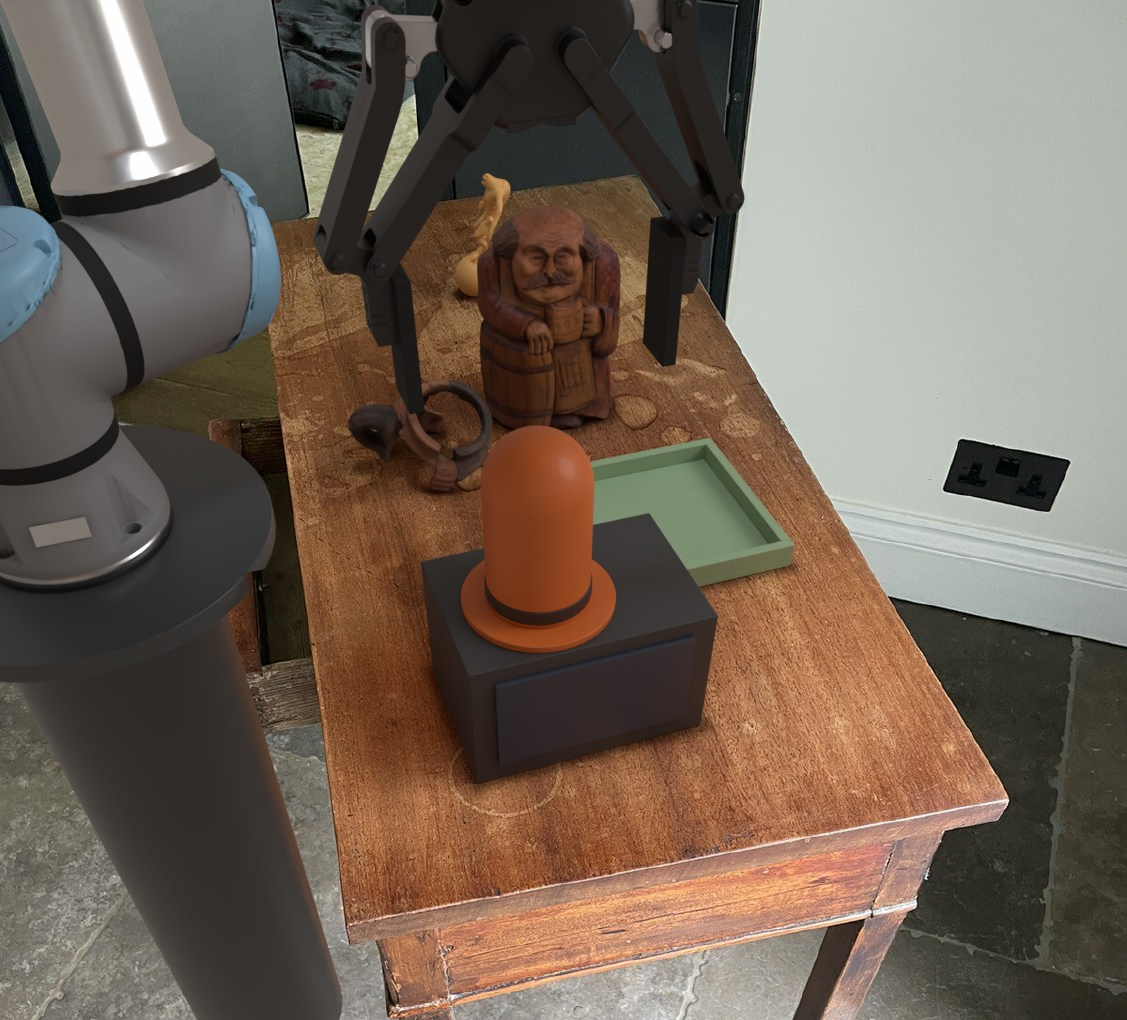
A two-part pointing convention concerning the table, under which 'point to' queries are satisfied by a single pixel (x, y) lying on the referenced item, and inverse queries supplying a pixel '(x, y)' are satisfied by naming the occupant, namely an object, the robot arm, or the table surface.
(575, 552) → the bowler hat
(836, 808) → the table surface
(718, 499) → the tray
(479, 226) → the figurine
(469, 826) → the table surface
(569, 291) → the wooden figurine
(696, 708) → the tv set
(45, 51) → the robot arm
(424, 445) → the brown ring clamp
